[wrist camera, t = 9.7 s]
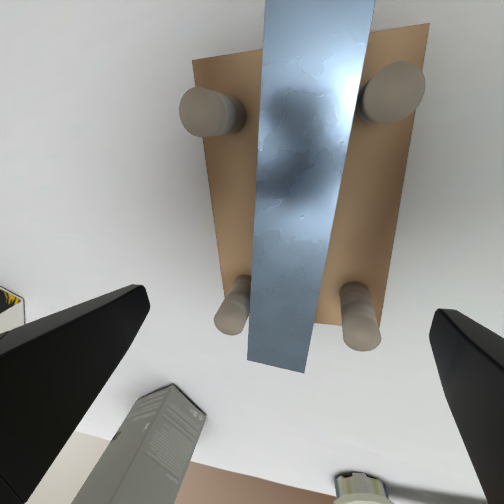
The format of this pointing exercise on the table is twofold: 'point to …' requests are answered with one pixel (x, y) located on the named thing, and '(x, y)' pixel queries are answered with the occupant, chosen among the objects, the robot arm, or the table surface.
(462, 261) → the table surface
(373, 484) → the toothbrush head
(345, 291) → the peg rack
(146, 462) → the skincare box
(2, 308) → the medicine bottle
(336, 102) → the steel bar
